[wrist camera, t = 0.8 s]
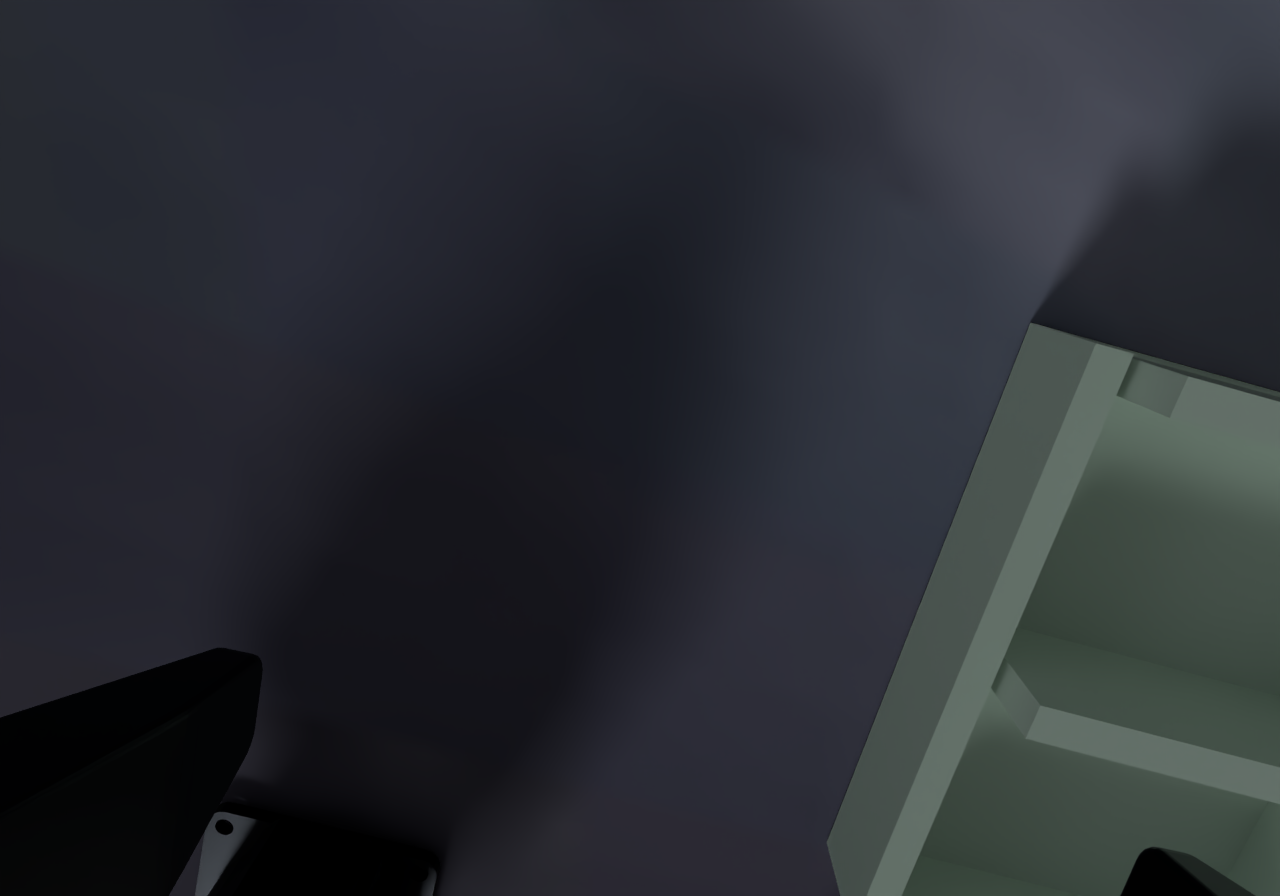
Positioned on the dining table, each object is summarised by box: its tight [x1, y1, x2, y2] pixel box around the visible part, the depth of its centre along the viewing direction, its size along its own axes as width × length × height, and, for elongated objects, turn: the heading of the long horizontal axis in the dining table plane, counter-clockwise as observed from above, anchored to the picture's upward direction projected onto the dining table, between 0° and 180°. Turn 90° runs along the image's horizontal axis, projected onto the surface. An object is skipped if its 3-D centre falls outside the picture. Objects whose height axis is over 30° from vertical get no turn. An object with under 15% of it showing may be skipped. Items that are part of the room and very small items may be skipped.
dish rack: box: [827, 323, 1280, 896], centre depth 20 cm, size 15×11×5 cm
